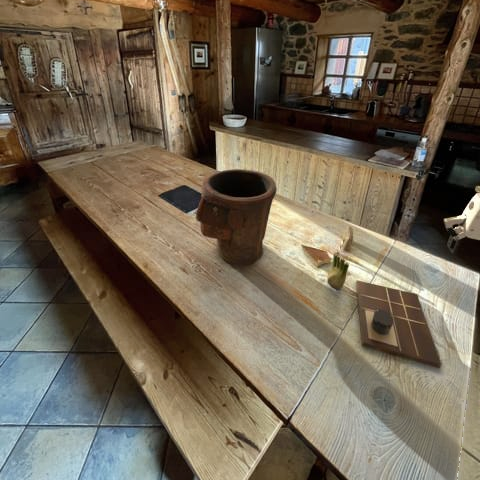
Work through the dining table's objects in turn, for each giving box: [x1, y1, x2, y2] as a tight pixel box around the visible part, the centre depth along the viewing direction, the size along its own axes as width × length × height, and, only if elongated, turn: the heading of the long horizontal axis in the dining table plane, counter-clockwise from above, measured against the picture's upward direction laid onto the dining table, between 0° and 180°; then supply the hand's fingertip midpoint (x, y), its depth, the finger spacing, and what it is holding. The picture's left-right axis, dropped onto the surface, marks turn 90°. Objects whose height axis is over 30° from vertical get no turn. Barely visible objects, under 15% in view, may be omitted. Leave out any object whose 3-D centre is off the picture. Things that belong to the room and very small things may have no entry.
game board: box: [355, 280, 442, 369], centre depth 78 cm, size 18×22×2 cm
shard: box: [300, 244, 333, 267], centre depth 102 cm, size 11×8×2 cm
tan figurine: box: [336, 225, 354, 255], centre depth 106 cm, size 7×4×12 cm
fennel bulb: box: [326, 252, 350, 290], centre depth 87 cm, size 6×5×12 cm
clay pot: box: [195, 168, 278, 266], centre depth 97 cm, size 25×29×30 cm
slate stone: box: [371, 310, 394, 335], centre depth 73 cm, size 5×5×4 cm
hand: (474, 254), depth 66 cm, fingers open, 9 cm apart
